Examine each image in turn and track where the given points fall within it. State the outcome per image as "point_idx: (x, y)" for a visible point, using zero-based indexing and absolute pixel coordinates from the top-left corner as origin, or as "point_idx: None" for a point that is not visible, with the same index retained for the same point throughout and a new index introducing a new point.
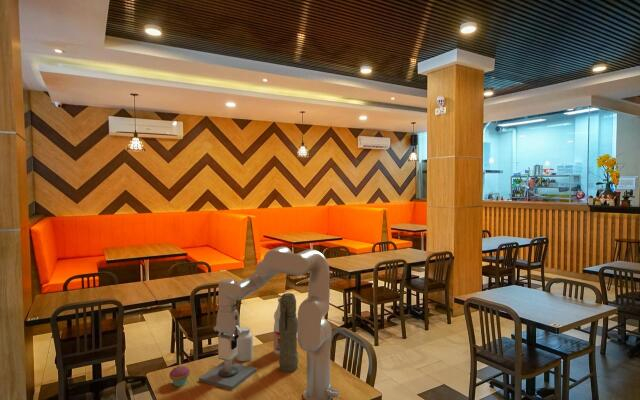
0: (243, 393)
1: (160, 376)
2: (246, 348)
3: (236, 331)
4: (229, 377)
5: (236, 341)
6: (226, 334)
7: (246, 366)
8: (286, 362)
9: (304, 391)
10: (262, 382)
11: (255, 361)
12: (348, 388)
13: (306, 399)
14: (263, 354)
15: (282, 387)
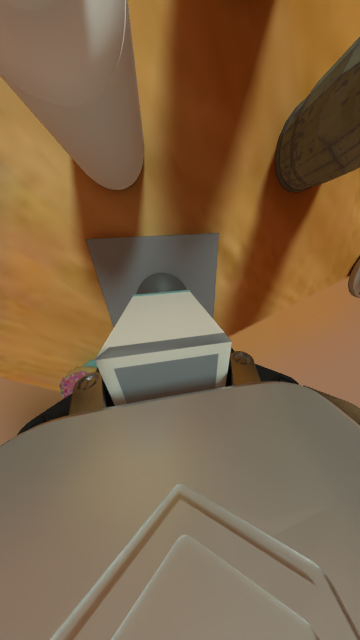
0: (235, 330)
1: (29, 372)
2: (131, 135)
3: (255, 385)
4: None
5: (231, 350)
6: (139, 386)
7: (183, 239)
8: (341, 175)
9: (357, 277)
10: (254, 279)
11: (170, 156)
12: None
13: (356, 296)
14: (156, 29)
15: (303, 275)
